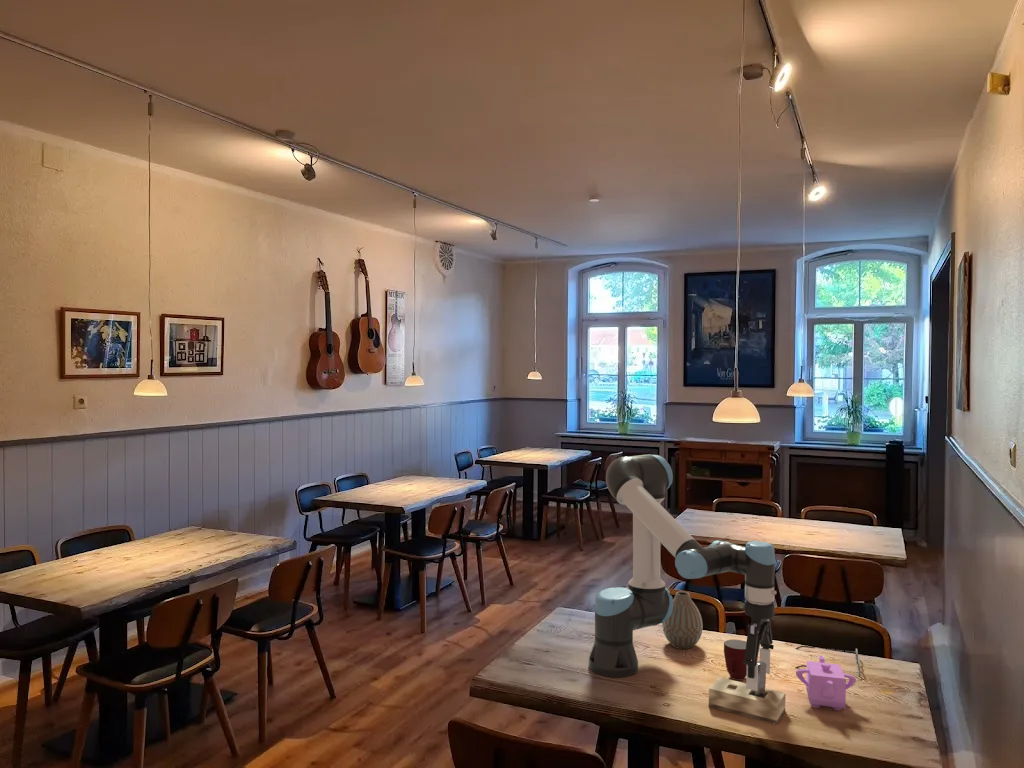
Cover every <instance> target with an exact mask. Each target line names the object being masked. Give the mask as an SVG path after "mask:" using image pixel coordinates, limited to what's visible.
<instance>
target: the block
mask: <svg viewBox="0 0 1024 768" xmlns="http://www.w3.org/2000/svg"><path fill="white" fill-rule="evenodd" d="M708 707H709V708H713V709H717V710H720V711H725V712H728V713H731V714H735V715H740V716H741V717H742V716H743V717H747V718H751V719H754V720H757V721H761V720H762V722H765V721H766V722H765V723H769V722H770V723H769V724H773V723H775V724H774V725H778V724H779V723H780V721H781V719H782V717H783V716H784V714H785V712H786V692H783V691H779V690H774V689H770V688H766V687H765V698H761V697H757V696H753V695H752V690H751V689H747V688H746V683H745V682H741V681H739V680H735V679H729V678H724V677H721V676H718V678H717V679H715V681H714V682H713V683H712V684H711V685H710V687H708ZM779 720H780V721H779Z"/></svg>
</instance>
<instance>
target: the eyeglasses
mask: <svg viewBox="0 0 1024 768" xmlns="http://www.w3.org/2000/svg"><path fill="white" fill-rule="evenodd" d="M801 648H807V649H816V647H815V646H810V645H800V646H798V647H795V648H794V649H796V650H799V649H801ZM819 649H822V650H825V648H824V647H823V648H821V647H819ZM828 650H831V651H834V649H833V648H831V649H830V648H828ZM837 651H841V652H843V650H841V649H837ZM846 652H848V653H852V650H851V651H850V650H846ZM854 654H855V659H856V664H857V671H856V673H858V676H859V677H861V671H862V670H861V660H860V657H859V652H858V648H855V651H854ZM802 667H804V668H805V667H806V668H807V664H805V665H804V664H801V665H798V666H796V667H794V668H795V669H799V668H802ZM842 671H843V672H845V670H844V669H842ZM848 672H850V673H851V672H852V673H854V671H851V670H848Z"/></svg>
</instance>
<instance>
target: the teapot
mask: <svg viewBox="0 0 1024 768" xmlns="http://www.w3.org/2000/svg"><path fill="white" fill-rule="evenodd" d="M818 658H819V661H812V660H811V661H809V660H807V661H806V666H807V667H806V668H800V669H799V668H798V669H797V670H796V671H795V676H797V678H798V680H800V681H801V682H802V683H803V684H804V685H805V688H806V692H807V696H808V697H807V698H808V699H809V700H808V701H809V704H810V705H811V707H813V708H817V709H818V708H820V709H821V706H823V707H830V708H832V709H833V710H835V711H842V709H846V704H847V703H846V702H847V701H846V700H847V697H846V696H847V695H846V694H847V691H846V690H848V689H850V688H852V687H853V686H854V685H855V683H856V682H857V678H856V676H854V675H851V674H848V673H844V671H842V670H843V669H842V667H841V665H840V664H838V663H837V664H835V663H827V662H825V657H824V656H823V655H819V657H818ZM803 674H806V675H805V676H806V678H804V676H803ZM846 678H847V679H849V680H848V681H847V679H846Z"/></svg>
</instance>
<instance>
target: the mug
mask: <svg viewBox="0 0 1024 768" xmlns="http://www.w3.org/2000/svg"><path fill="white" fill-rule="evenodd" d="M746 642H747V640H742V639H727V640H725V641H724V642H723V654H724V660H725V667H726V671H727V672H728V675H729V677H730V678H731V680H734V681H743V680H745V679H746V670H747V665H746V664H743V661H744V659H745V651H746Z"/></svg>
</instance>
